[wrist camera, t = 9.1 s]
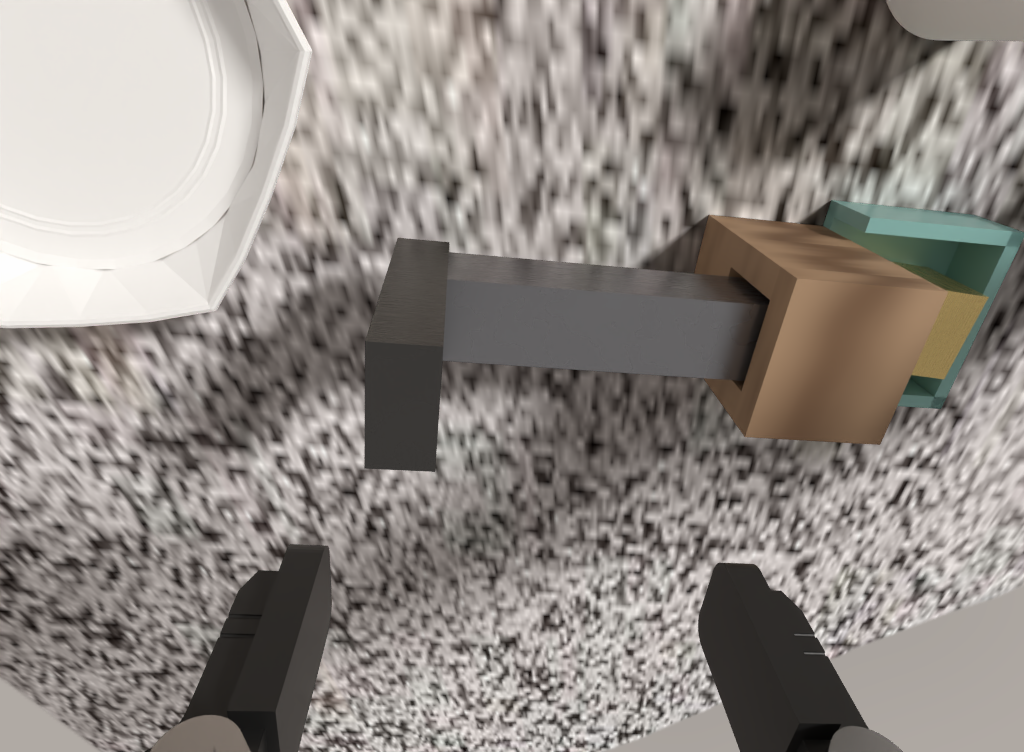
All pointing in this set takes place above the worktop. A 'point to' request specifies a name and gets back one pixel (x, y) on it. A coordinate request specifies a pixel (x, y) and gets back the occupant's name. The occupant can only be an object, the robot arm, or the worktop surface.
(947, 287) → the block
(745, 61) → the worktop surface
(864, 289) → the block
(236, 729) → the robot arm
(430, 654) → the worktop surface
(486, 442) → the worktop surface
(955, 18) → the beverage can
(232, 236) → the pan
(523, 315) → the grey l-shaped block
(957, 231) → the tray
